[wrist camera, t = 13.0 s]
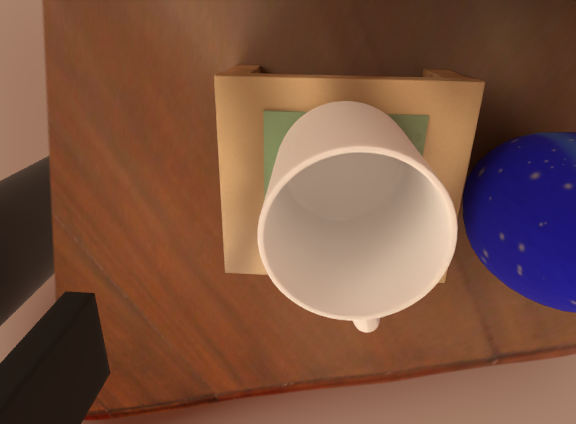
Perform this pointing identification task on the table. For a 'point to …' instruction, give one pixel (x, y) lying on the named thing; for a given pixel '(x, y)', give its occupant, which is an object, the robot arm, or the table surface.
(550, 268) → the ornament
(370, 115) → the mug
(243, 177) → the wooden side table
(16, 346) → the robot arm
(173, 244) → the table surface
